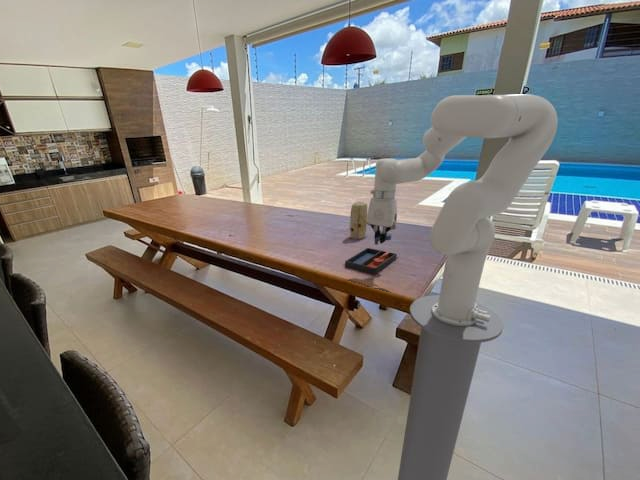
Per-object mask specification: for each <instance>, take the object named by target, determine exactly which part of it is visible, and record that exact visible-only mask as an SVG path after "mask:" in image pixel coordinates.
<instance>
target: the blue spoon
mask: <svg viewBox="0 0 640 480" xmlns="http://www.w3.org/2000/svg"><path fill="white" fill-rule="evenodd" d="M392 235H393V234H391V233H388V232H387V235H386V241H391V240H392ZM379 240H380V236H379V237H377V238H375V239H374V245H376V246H377V245H379V242H380V241H379Z"/></svg>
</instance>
